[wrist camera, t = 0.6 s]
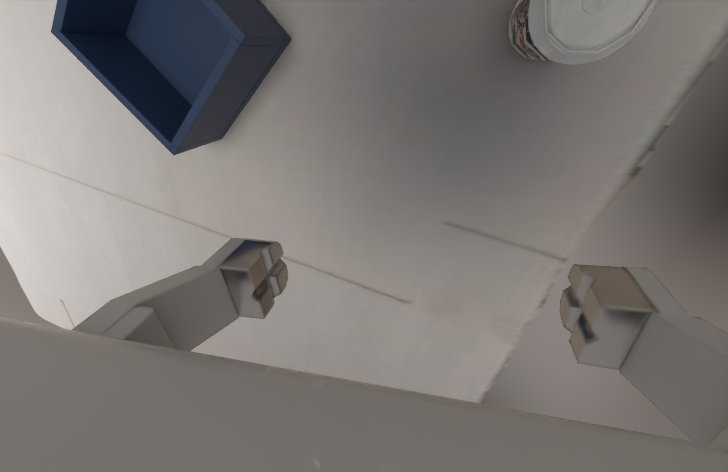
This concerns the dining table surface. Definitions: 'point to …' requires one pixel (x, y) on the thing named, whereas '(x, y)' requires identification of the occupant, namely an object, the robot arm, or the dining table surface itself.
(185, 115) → the bin
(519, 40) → the coffee can
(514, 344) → the dining table surface
